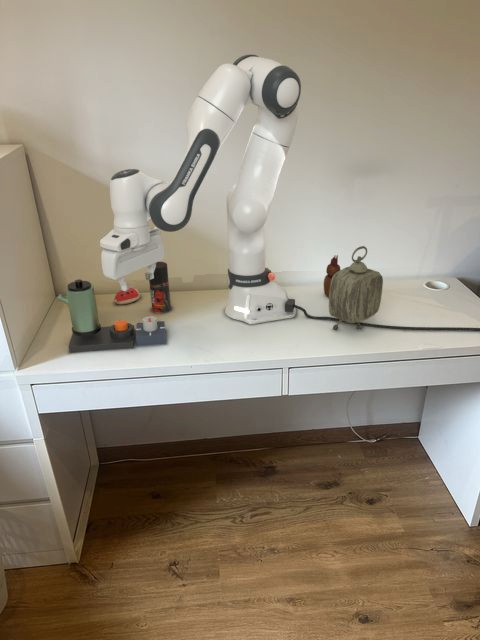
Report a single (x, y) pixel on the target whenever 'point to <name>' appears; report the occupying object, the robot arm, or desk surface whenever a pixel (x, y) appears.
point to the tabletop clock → (355, 292)
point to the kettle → (82, 308)
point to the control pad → (150, 335)
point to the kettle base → (103, 340)
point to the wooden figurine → (330, 274)
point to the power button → (121, 325)
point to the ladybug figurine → (127, 296)
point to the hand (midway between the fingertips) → (138, 284)
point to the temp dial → (149, 323)
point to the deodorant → (160, 289)
